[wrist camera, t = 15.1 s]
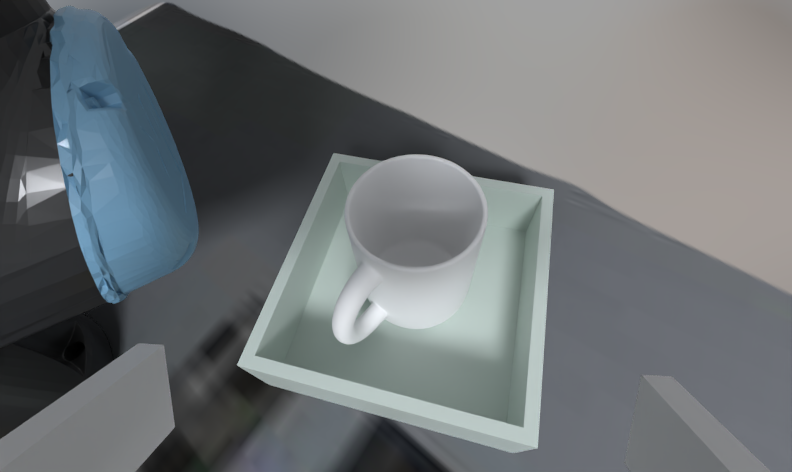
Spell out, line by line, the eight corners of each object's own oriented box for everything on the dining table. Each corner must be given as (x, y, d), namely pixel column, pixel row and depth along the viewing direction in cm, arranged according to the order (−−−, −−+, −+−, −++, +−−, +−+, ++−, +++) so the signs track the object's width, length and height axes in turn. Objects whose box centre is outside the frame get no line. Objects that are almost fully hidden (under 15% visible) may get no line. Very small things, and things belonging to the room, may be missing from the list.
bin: (269, 384, 28) (236, 365, 23) (344, 197, 37) (333, 153, 32) (513, 453, 26) (537, 448, 20) (533, 232, 34) (553, 189, 29)
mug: (391, 398, 27) (379, 361, 18) (309, 324, 30) (264, 261, 21) (488, 274, 31) (516, 197, 22) (408, 221, 34) (405, 134, 25)
